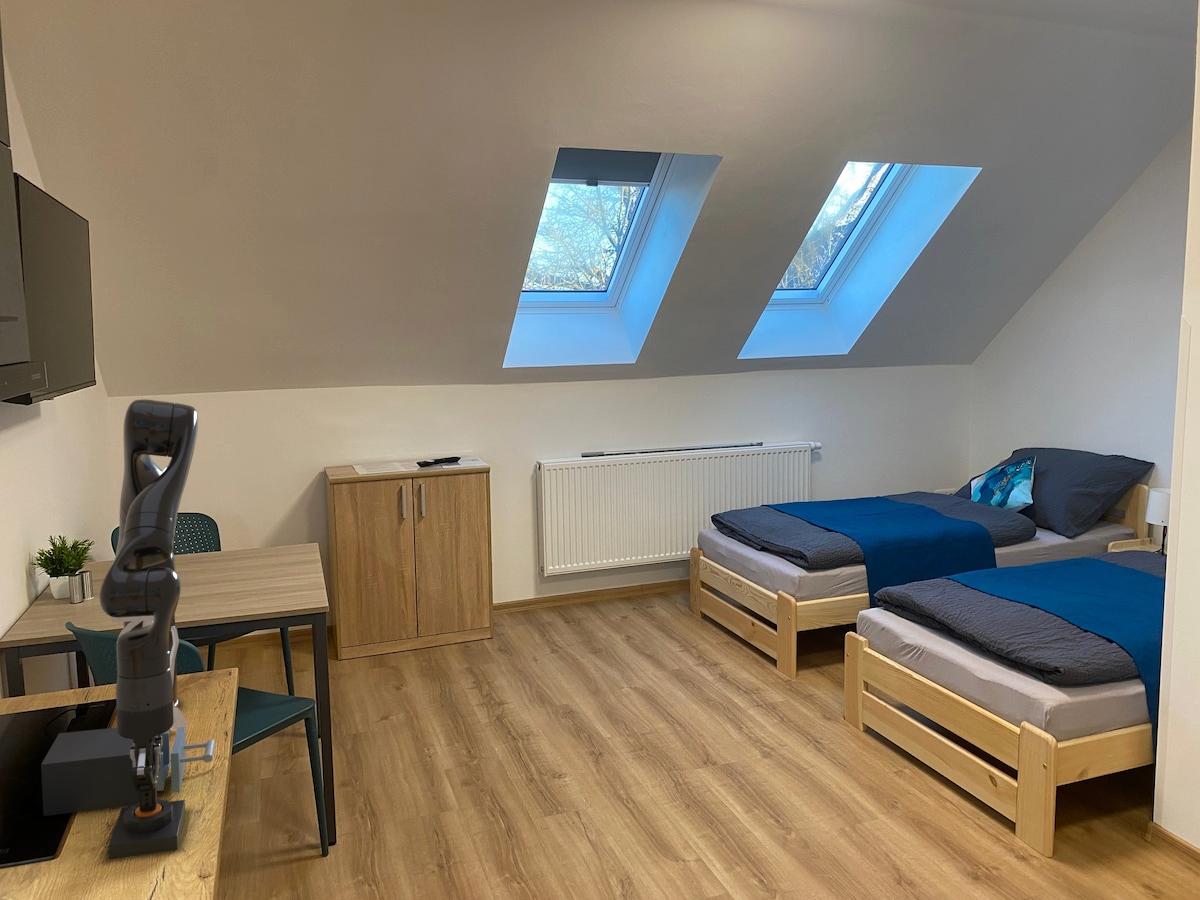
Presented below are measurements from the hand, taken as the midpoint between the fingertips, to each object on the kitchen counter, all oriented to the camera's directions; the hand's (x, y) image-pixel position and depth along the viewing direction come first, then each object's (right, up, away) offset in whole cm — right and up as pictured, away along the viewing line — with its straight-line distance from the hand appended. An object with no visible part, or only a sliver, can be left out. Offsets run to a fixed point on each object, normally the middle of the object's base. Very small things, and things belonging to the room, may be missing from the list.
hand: (148, 808), depth 135 cm
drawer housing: (-14, -2, +12) cm, 19 cm away
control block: (0, -4, +1) cm, 4 cm away
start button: (0, -2, 0) cm, 2 cm away
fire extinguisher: (-16, 0, +33) cm, 37 cm away
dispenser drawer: (-6, -1, +15) cm, 16 cm away
